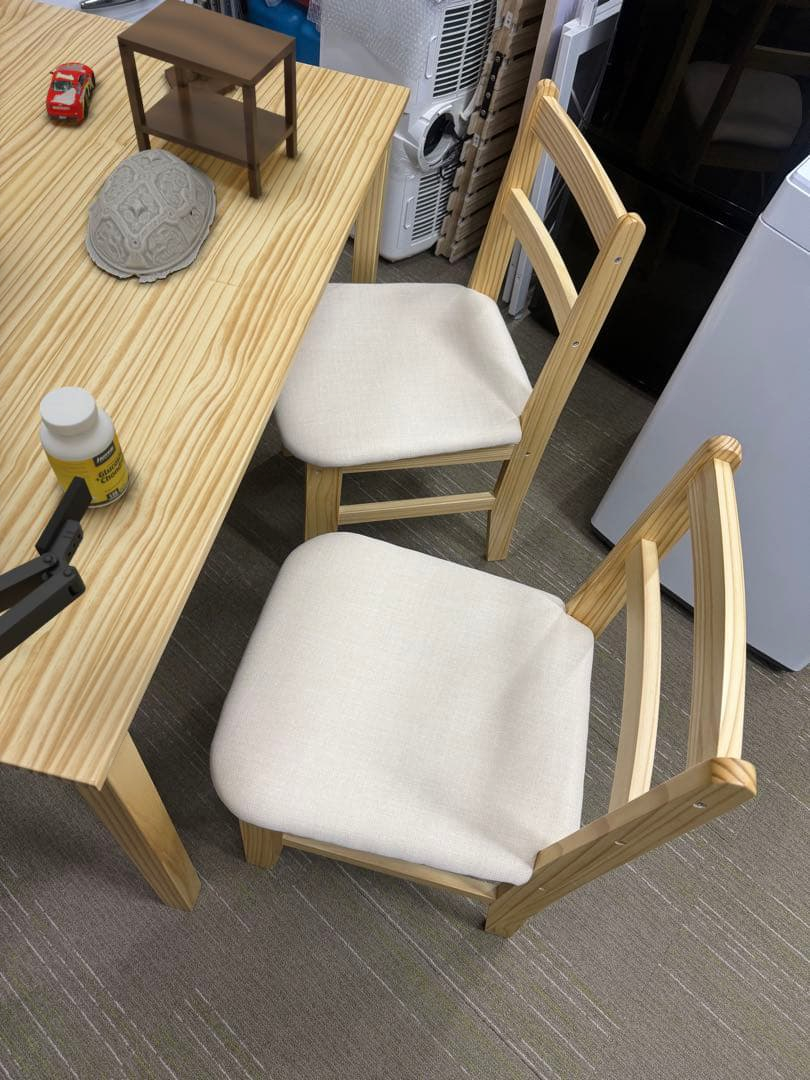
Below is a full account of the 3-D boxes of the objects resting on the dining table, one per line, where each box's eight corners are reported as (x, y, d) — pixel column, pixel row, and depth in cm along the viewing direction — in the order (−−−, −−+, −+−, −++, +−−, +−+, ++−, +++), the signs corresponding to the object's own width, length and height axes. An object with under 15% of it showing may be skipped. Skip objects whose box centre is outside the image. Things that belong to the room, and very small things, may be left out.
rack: (257, 199, 105) (250, 80, 92) (140, 158, 107) (116, 35, 94) (297, 154, 111) (295, 37, 98) (185, 116, 113) (169, -4, 100)
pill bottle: (100, 521, 76) (69, 446, 66) (48, 491, 77) (10, 413, 67) (144, 476, 79) (121, 398, 69) (94, 448, 80) (64, 368, 70)
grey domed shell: (227, 163, 107) (217, 116, 101) (196, 292, 95) (182, 247, 89) (116, 160, 107) (99, 113, 101) (71, 289, 95) (49, 244, 89)
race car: (62, 75, 116) (54, 46, 112) (99, 78, 116) (93, 50, 113) (43, 125, 109) (35, 96, 105) (84, 128, 109) (77, 99, 106)
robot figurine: (154, 92, 116) (139, 2, 105) (171, 61, 121) (159, -28, 111) (228, 104, 116) (220, 16, 106) (242, 72, 121) (236, -15, 111)
